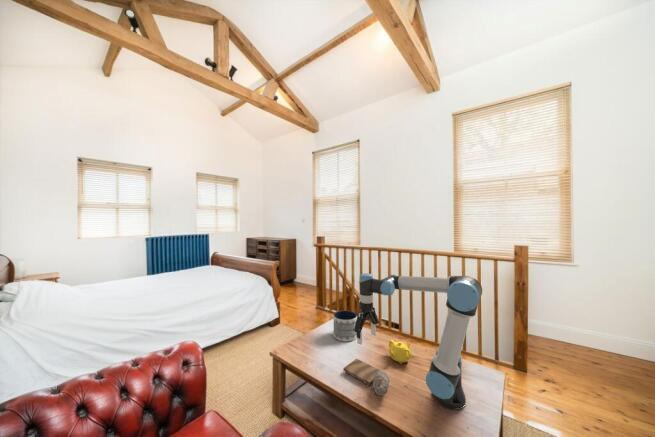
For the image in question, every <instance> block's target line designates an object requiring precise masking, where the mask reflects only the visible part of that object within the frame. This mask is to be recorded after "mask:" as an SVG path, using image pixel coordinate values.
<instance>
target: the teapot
mask: <svg viewBox="0 0 655 437" xmlns="http://www.w3.org/2000/svg"><path fill="white" fill-rule="evenodd" d="M410 346H411V342H409V341H407V342H406V343H405V342H402V341H394V340H393V339H390V340H389V342H388V347H389V349H388V351H387V352H388V354H389V356H390V357H391V359H392V360H393V361H395V362H398V364H400V365H402V364H403V363H406V362H408V361H409V360H410V359H412V358H413V354H412V349H411V348H410ZM409 348H410V349H409Z"/></svg>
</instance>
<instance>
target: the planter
mask: <svg viewBox="0 0 655 437" xmlns="http://www.w3.org/2000/svg"><path fill="white" fill-rule="evenodd" d="M357 315H358V313H356V312H354V311H351V310H338V311H335V312H334V313H333V337H334V339H336V340H338V341H340V342H347V343H348V342H352V341H354V340H357V332H354V329H355V325H356V321H357Z"/></svg>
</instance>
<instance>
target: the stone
mask: <svg viewBox="0 0 655 437" xmlns="http://www.w3.org/2000/svg"><path fill="white" fill-rule="evenodd" d="M389 384H390V378H389V376H388V374H387V373H386V372H385V371H384V370H383V369H379V370H378V371H377V373H376V374H375V376H374V377H373V383H372V388H373V389H374V392H375V394H376V395H377V396H384V395H386V394H387V393H388V390H389Z"/></svg>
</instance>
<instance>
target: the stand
mask: <svg viewBox="0 0 655 437" xmlns="http://www.w3.org/2000/svg"><path fill="white" fill-rule="evenodd" d="M378 370H380V369H379V368H376V367H375V366H373V365H370V364H369V363H366V361H365V362H364V361H363V360H360V359H358V358H355V359H354V360H353V361H351V362H349V363H348V364H347V365H346V366H345V367H343V371H344V374H345V375H347V376H350V375H352V376H353V377H354V378H357V379H359V380H360V381H363V382H364V385H365V386H366V387H370V386H372V385H373V377H374V376H375V374H376V373H377V371H378Z"/></svg>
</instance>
